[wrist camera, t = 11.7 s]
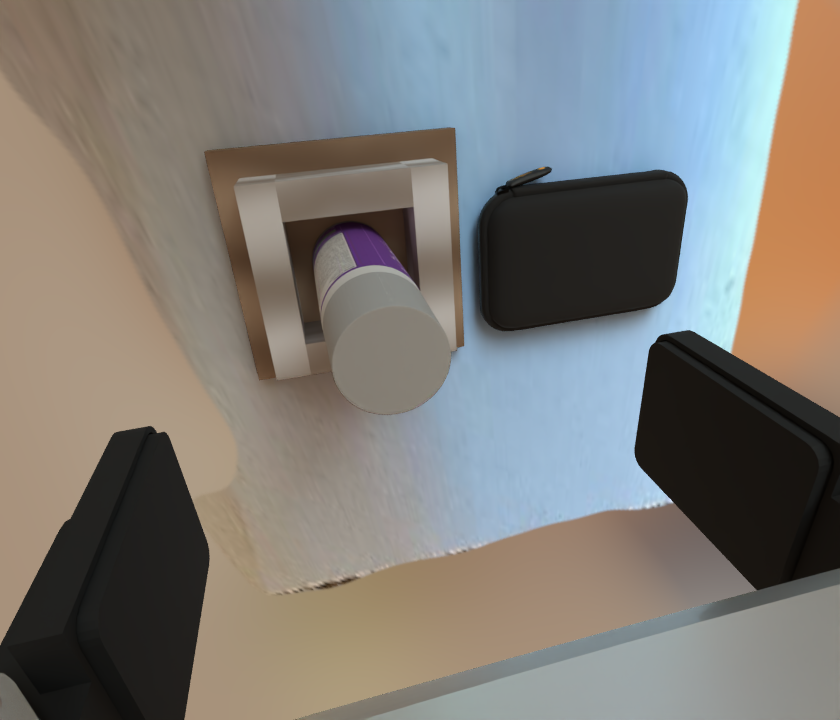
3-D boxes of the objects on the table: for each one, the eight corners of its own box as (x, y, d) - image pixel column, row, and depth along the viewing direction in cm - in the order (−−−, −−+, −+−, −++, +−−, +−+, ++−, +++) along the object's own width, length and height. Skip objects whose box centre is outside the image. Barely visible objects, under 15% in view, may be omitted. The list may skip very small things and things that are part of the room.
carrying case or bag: (677, 148, 36) (469, 172, 33) (708, 151, 33) (485, 177, 31) (657, 297, 41) (474, 326, 38) (683, 310, 38) (488, 343, 35)
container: (403, 250, 33) (479, 346, 20) (358, 309, 34) (403, 437, 21) (341, 203, 31) (380, 275, 18) (296, 267, 32) (302, 380, 19)
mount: (207, 150, 29) (193, 157, 25) (449, 127, 32) (473, 130, 27) (260, 372, 36) (256, 407, 31) (459, 339, 38) (480, 367, 34)
